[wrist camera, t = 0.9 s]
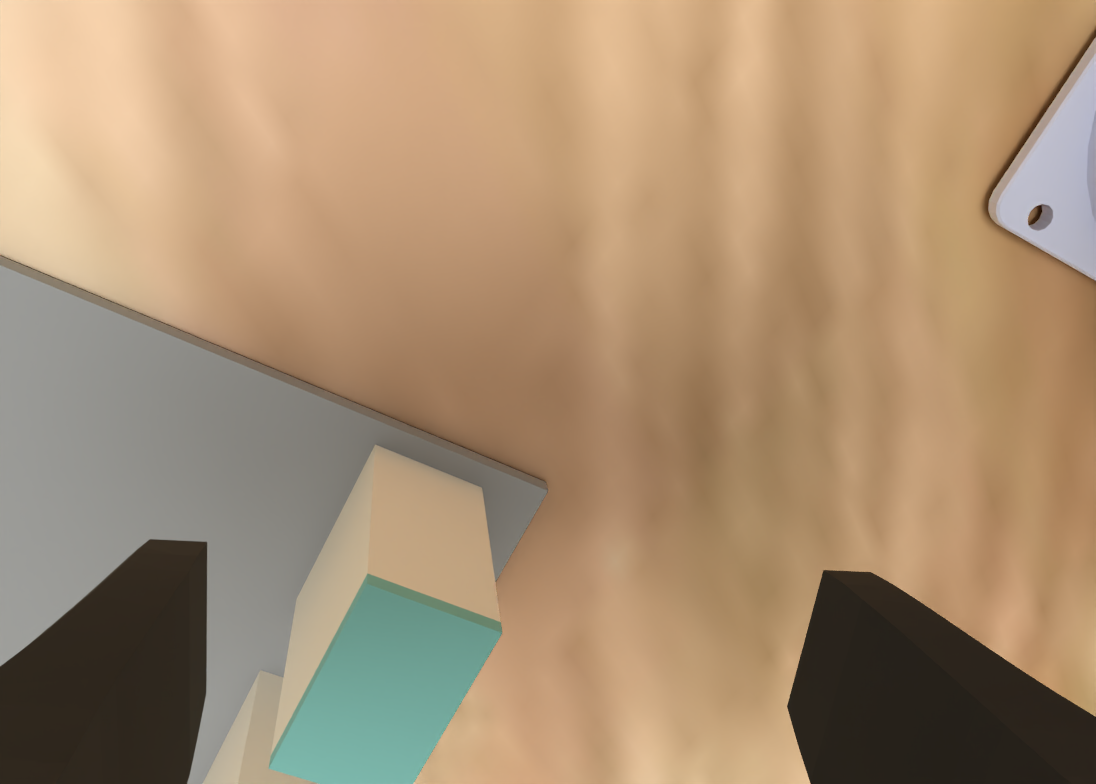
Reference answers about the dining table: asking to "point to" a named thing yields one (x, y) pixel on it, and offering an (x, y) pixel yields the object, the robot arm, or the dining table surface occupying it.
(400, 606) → the slab
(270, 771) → the slab
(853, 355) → the dining table surface
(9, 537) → the mat
